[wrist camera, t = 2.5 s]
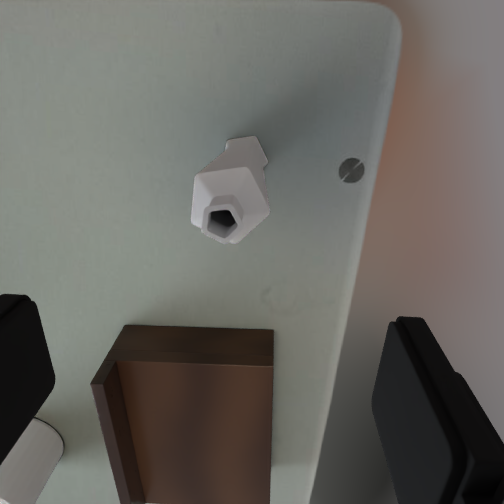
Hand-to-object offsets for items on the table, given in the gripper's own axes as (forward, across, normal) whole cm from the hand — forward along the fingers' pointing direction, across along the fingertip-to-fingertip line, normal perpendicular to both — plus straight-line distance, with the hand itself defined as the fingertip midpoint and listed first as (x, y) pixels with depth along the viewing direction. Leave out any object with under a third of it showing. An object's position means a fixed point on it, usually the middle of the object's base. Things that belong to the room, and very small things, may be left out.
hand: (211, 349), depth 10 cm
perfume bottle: (+25, +1, 0) cm, 25 cm away
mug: (+25, +30, +38) cm, 54 cm away
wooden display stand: (+24, +5, +29) cm, 38 cm away
